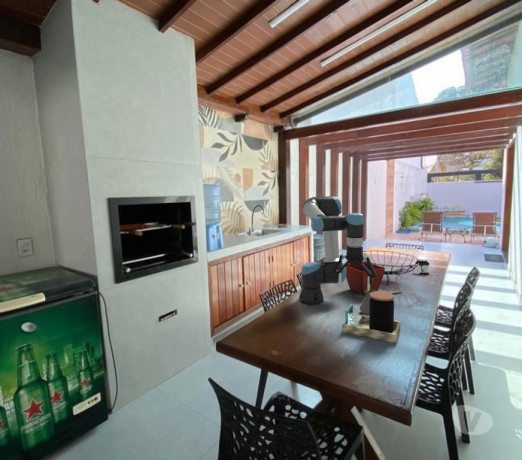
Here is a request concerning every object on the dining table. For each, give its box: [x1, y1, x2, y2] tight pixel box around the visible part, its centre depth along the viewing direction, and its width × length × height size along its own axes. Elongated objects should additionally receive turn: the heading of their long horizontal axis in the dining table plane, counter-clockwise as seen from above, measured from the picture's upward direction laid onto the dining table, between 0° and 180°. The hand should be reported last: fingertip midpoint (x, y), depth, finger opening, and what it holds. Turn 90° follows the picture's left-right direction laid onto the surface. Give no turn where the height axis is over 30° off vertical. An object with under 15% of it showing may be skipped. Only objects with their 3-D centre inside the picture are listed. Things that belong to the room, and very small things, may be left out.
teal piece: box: [343, 303, 362, 327], centre depth 148 cm, size 6×13×9 cm, turn 150°
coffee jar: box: [369, 290, 395, 333], centre depth 141 cm, size 11×11×18 cm
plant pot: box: [345, 261, 386, 296], centre depth 199 cm, size 19×19×17 cm
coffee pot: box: [359, 290, 403, 316], centre depth 159 cm, size 21×12×15 cm, turn 55°
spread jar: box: [411, 257, 430, 275], centre depth 234 cm, size 12×11×12 cm
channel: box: [341, 312, 401, 344], centre depth 144 cm, size 24×15×4 cm, turn 60°
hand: (354, 288), depth 146 cm, fingers open, 13 cm apart
